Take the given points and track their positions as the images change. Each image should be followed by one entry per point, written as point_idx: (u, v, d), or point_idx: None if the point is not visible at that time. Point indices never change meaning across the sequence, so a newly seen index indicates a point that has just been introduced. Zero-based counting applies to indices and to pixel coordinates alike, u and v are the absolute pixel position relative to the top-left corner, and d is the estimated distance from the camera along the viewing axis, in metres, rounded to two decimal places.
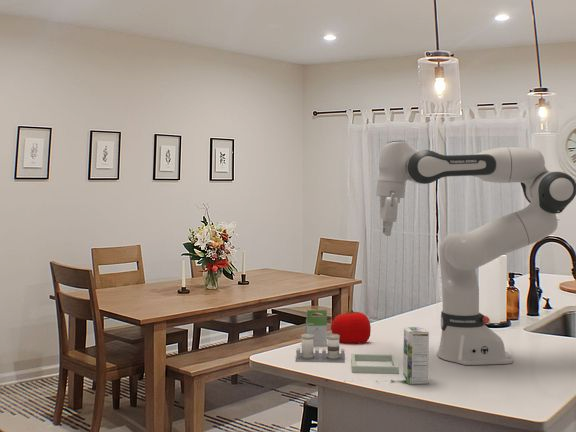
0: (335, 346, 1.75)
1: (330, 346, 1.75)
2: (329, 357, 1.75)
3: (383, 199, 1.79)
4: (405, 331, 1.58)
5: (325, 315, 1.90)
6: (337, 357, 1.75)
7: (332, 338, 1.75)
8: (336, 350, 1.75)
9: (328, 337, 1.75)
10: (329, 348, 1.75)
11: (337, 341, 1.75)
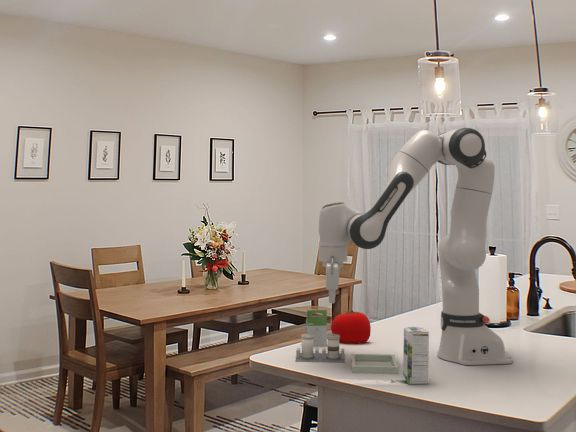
0: (335, 346, 1.75)
1: (330, 346, 1.75)
2: (329, 357, 1.75)
3: (325, 264, 1.74)
4: (405, 331, 1.58)
5: (325, 315, 1.90)
6: (337, 357, 1.75)
7: (332, 338, 1.75)
8: (336, 350, 1.75)
9: (328, 337, 1.75)
10: (329, 348, 1.75)
11: (337, 341, 1.75)
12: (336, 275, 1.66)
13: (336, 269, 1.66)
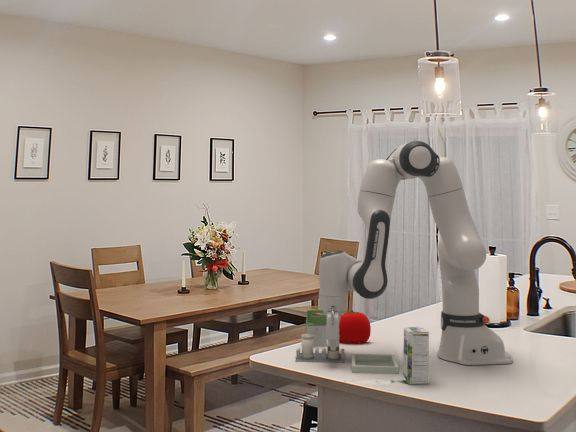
0: None
1: None
2: (329, 357, 1.75)
3: (325, 313, 1.74)
4: (405, 331, 1.58)
5: (325, 315, 1.90)
6: (337, 357, 1.75)
7: None
8: (336, 350, 1.75)
9: None
10: (329, 348, 1.75)
11: (337, 341, 1.75)
12: (337, 326, 1.67)
13: (337, 320, 1.67)
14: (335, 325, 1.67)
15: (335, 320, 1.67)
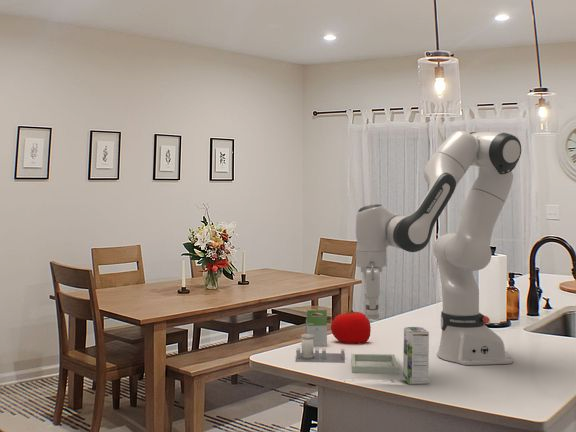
0: None
1: None
2: (368, 316, 1.67)
3: (364, 270, 1.65)
4: (405, 331, 1.58)
5: (325, 315, 1.90)
6: (376, 316, 1.66)
7: None
8: (375, 309, 1.66)
9: (366, 295, 1.67)
10: (368, 307, 1.67)
11: (376, 299, 1.66)
12: (377, 281, 1.58)
13: (377, 275, 1.58)
14: (375, 280, 1.58)
15: (375, 275, 1.58)
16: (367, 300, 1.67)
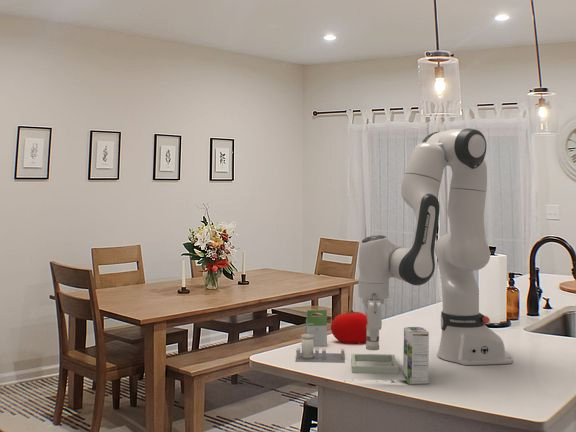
0: None
1: None
2: (368, 348, 1.66)
3: (366, 301, 1.65)
4: (405, 331, 1.58)
5: (325, 315, 1.90)
6: (377, 348, 1.66)
7: None
8: (376, 340, 1.66)
9: None
10: (368, 338, 1.66)
11: (377, 331, 1.66)
12: (379, 314, 1.57)
13: (379, 308, 1.57)
14: (378, 313, 1.57)
15: (378, 308, 1.57)
16: (368, 331, 1.66)
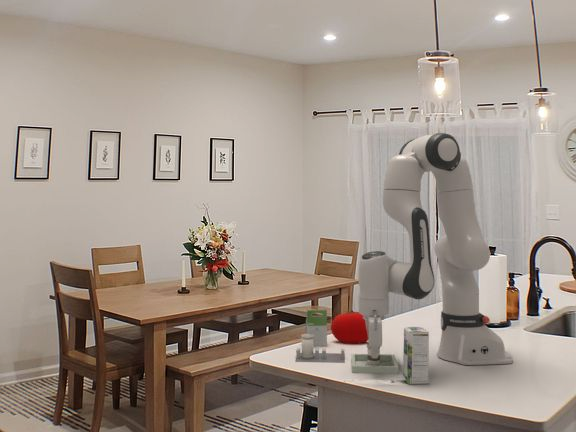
0: None
1: None
2: None
3: (366, 318, 1.65)
4: (405, 331, 1.58)
5: (325, 315, 1.90)
6: None
7: None
8: (377, 359, 1.66)
9: (368, 346, 1.66)
10: (369, 357, 1.66)
11: (378, 350, 1.66)
12: (380, 331, 1.57)
13: (380, 325, 1.58)
14: (378, 330, 1.57)
15: (378, 325, 1.58)
16: (369, 350, 1.67)
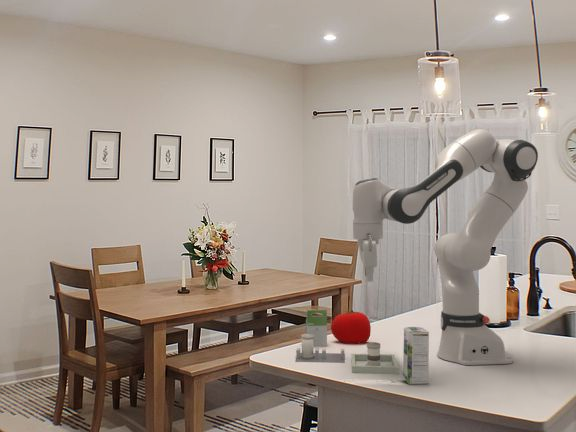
0: (376, 355, 1.66)
1: (371, 355, 1.66)
2: None
3: (361, 242, 1.69)
4: (405, 331, 1.58)
5: (325, 315, 1.90)
6: None
7: (373, 347, 1.66)
8: (377, 359, 1.66)
9: (368, 346, 1.66)
10: (369, 357, 1.66)
11: (378, 350, 1.66)
12: (375, 252, 1.61)
13: (374, 246, 1.61)
14: (373, 251, 1.61)
15: (373, 246, 1.61)
16: (369, 350, 1.67)
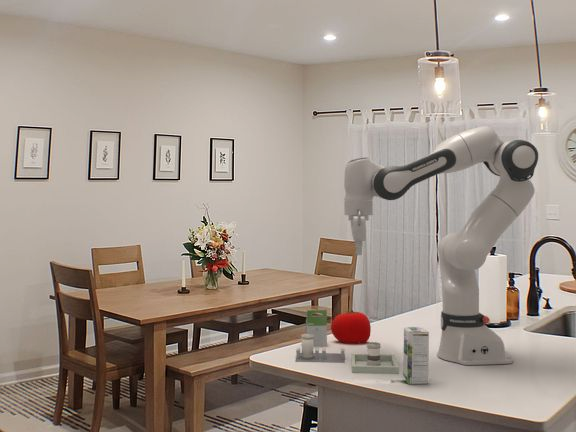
0: (376, 355, 1.66)
1: (371, 355, 1.66)
2: None
3: (351, 218, 1.77)
4: (405, 331, 1.58)
5: (325, 315, 1.90)
6: None
7: (373, 347, 1.66)
8: (377, 359, 1.66)
9: (368, 346, 1.66)
10: (369, 357, 1.66)
11: (378, 350, 1.66)
12: (363, 226, 1.70)
13: (363, 221, 1.70)
14: (362, 226, 1.70)
15: (362, 221, 1.70)
16: (369, 350, 1.67)
